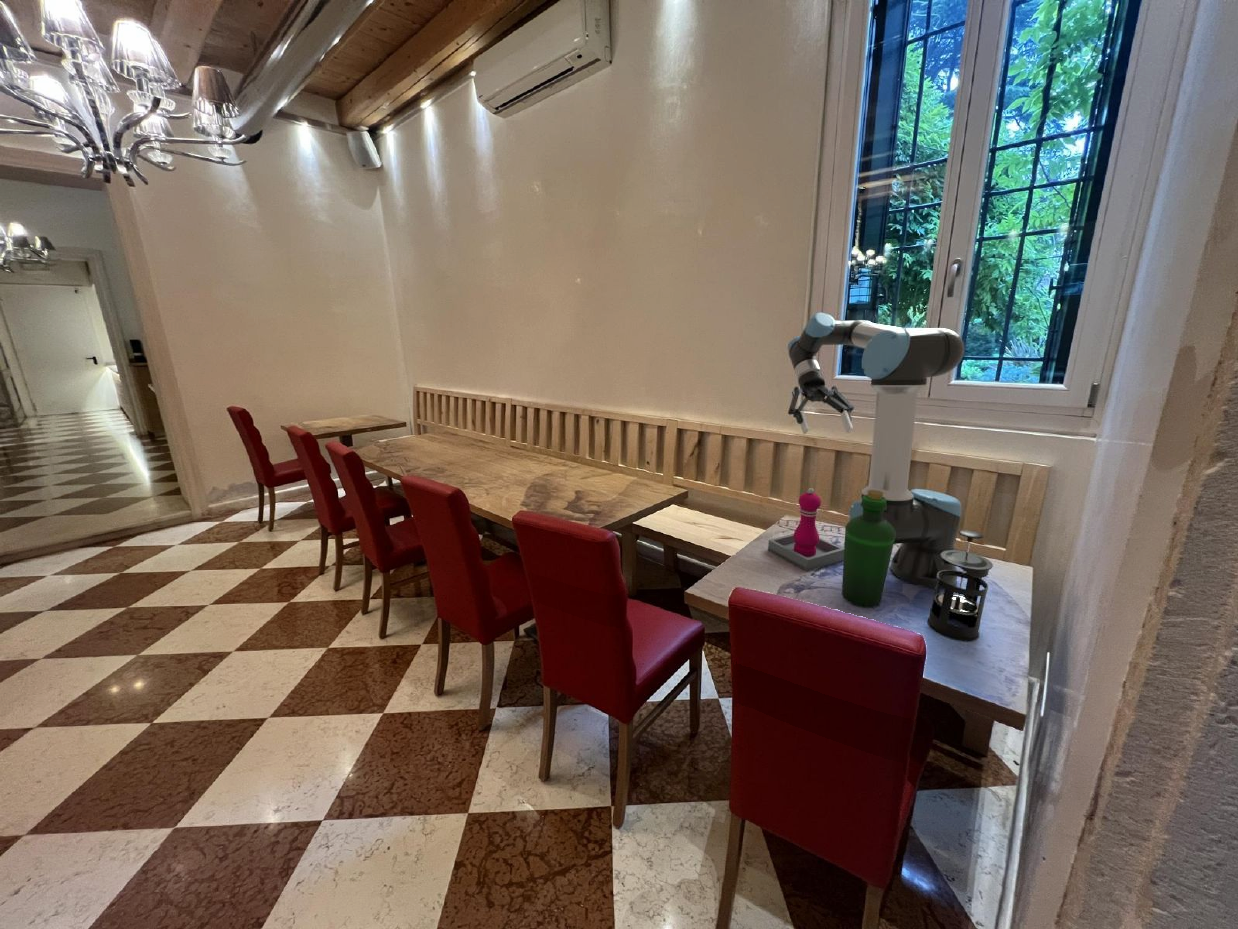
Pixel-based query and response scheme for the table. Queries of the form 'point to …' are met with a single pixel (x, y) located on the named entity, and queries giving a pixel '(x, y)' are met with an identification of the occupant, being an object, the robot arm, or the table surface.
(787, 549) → the tray
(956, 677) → the table surface
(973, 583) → the french press
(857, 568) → the bottle
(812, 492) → the pepper mill
